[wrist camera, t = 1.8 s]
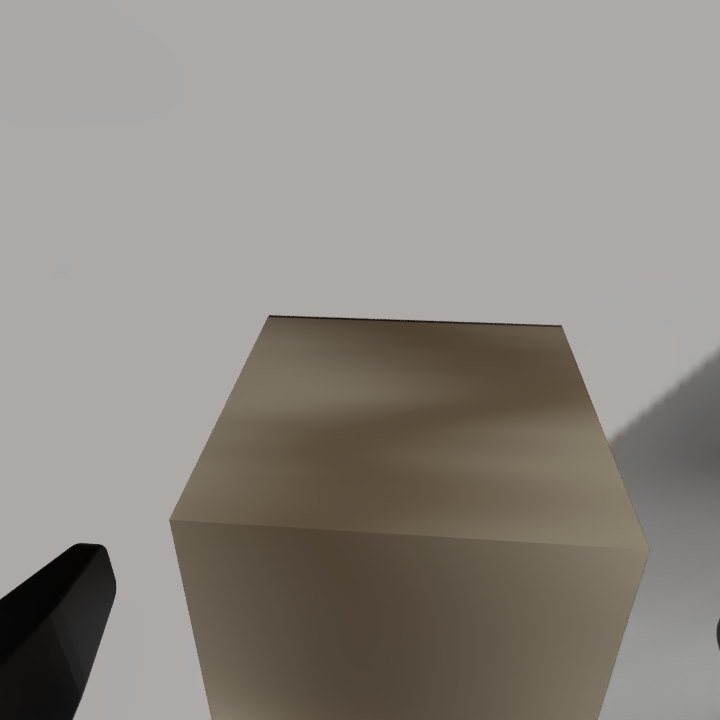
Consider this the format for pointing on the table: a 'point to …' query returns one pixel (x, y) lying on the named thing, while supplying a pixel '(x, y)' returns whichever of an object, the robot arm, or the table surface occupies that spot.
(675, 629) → the table surface
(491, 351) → the beige cube
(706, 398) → the table surface
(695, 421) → the table surface
